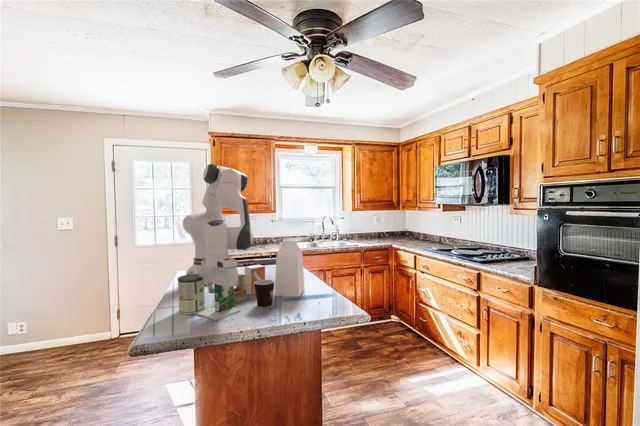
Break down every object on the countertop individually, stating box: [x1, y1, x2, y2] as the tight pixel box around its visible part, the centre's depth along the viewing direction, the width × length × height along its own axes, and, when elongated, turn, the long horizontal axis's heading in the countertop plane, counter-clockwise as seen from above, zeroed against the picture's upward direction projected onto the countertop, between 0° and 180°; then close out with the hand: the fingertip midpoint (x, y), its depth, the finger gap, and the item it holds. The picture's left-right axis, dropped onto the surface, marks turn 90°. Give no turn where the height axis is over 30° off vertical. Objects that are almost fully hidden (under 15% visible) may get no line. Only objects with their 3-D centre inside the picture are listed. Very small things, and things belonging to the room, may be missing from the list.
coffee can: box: [177, 274, 206, 316], centre depth 132 cm, size 10×10×14 cm
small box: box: [244, 264, 266, 296], centre depth 157 cm, size 8×6×13 cm
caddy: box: [233, 273, 248, 304], centre depth 144 cm, size 6×12×11 cm, turn 146°
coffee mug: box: [254, 279, 275, 308], centre depth 139 cm, size 12×9×10 cm
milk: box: [274, 239, 306, 297], centre depth 156 cm, size 12×12×26 cm
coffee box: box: [213, 284, 235, 312], centre depth 131 cm, size 8×3×13 cm, turn 146°
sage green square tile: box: [196, 306, 241, 321], centre depth 128 cm, size 12×12×1 cm
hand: (218, 294), depth 128 cm, fingers open, 7 cm apart
